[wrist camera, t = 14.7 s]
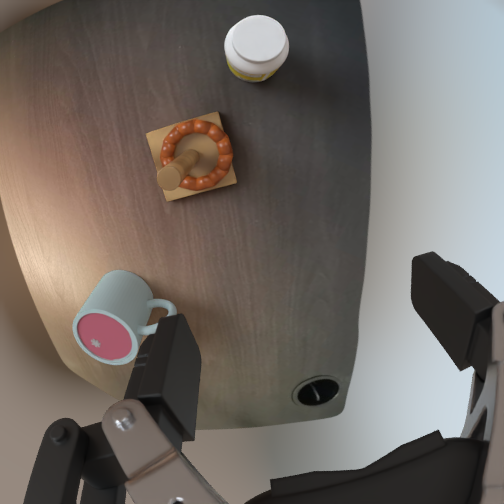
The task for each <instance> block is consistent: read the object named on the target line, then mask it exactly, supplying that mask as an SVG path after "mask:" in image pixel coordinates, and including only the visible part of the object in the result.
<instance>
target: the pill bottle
mask: <svg viewBox="0 0 504 504" xmlns="http://www.w3.org/2000/svg"><path fill="white" fill-rule="evenodd" d="M288 52H289V42H288V38H287V35H286V34H285V31H284V29H283V27H282V26H281V25H280V24H279V23H278V22H277V21H276V20H274V19H272V18H270V17H267V16H262V15H255V16H250V17H247V18H245V19H243V20H241V21H240V22H238V23H237V24H236V25H234V26H233V27H232V28H231V29H230V31H229V32H228V34H227V36H226V39H225V53H226V59H227V63H228V67H229V68H230V70H231V72H232V73H233V74H234V75H235V76H236V77H238V78H239V79H241V80H244V81H247V82H260V81H263V80H266V79H268V78H269V77H271V76H272V75H273V74H274V73H275V72H276V71H277V70H278V68H279V67H280V66H281V65H282V64H283V63H284V61H285V60H286V58H287V55H288Z"/></svg>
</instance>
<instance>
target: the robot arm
mask: <svg viewBox="0 0 504 504" xmlns="http://www.w3.org/2000/svg"><path fill="white" fill-rule="evenodd" d="M411 300H412V304H413V307H414V309H415V310H416V312H417V313H418V314H419V316H420V317H421V318H422V319H423V321H424V322H425V324H426V325H427V326H428V328H429V329H430V330H431V331H432V333H433V334H434V336H435V337H436V338H437V340H438V341H439V342H440V344H441V345H442V346H443V348H444V349H445V350H446V352H447V353H448V355H449V356H450V357H451V359H452V360H453V362H454V363H455V365H456V366H457V367H458V369H459V370H460V371H462V370H464V369H466V368H468V367H470V366H472V367H473V368H474V369H475V371H474V373H473V377H472V384H471V392H470V399H469V406H468V411H467V416H466V421H465V425H464V428H463V431H462V433H461V436H460V437H459V438H457V437H456V438H455V437H454V438H445V439H443V437H442V436H441V433H440V432H439V430H437V431H434V432H432V433H430V434H428V435H425V436H423V437H420V438H418V439H416V440H413V441H411V442H408V443H406V444H403V445H401V446H400V447H398V448H396V449H395V450H393V451H392V452H390V453H388V454H387V455H385V456H384V457H382V458H380V459H379V460H377V461H375V462H374V463H372V464H370V465H368V466H367V467H365V468H362V469H357V470H343V471H313V472H309V473H304V474H299V475H294V476H289V477H283V478H277V479H270V483H271V490H268V491H266V492H263V493H261V494H259V495H257V496H255V497H254V498H252V499H250V500H249V501H247V502H246V503H245V504H504V302H499V301H498V300H497V299H496V298H495V297H494V296H493V295H492V294H491V293H490V292H489V291H488V290H487V289H485V288H484V287H483V286H482V285H481V284H480V283H479V282H476V280H475V279H474V278H473V277H472V276H469V274H468V273H467V272H466V271H465V270H464V269H463V268H461V267H460V266H458V265H456V264H454V263H451V262H449V261H444V260H443V259H442V258H441V257H440V256H439V255H437V254H436V253H435V252H429V253H425V254H422V255H418V256H415V257H414V258H413V260H412V278H411ZM137 357H138V358H136V361H135V364H134V366H135V367H134V368H133V371H132V374H131V377H130V380H129V383H128V386H127V390H126V393H125V396H124V399H123V400H121V401H118V402H117V403H115V404H113V405H112V406H111V407H110V408H109V409H108V410H107V411H106V412H105V414H104V416H103V419H102V422H99V423H95V424H92V425H89V426H85V427H82V428H81V427H80V426H79V425H78V424H77V423H76V422H75V421H74V420H73V419H70V418H62V419H59V420H57V421H55V422H54V423H52V424H51V425H50V426H49V427H48V429H47V430H46V432H45V434H44V437H43V440H42V443H41V446H40V449H39V452H38V455H37V458H36V461H35V464H34V467H33V471H32V474H31V477H30V481H29V484H28V488H27V491H26V495H25V499H24V503H23V504H76V500H77V494H78V489H79V484H80V479H81V478H82V479H83V480H84V485H83V490H82V496H81V501H80V504H125V498H126V489H127V491H128V493H129V495H130V496H131V498H132V500H133V502H134V503H135V504H228V502H227V501H225V500H224V499H223V498H222V497H221V496H220V495H219V494H218V493H217V492H216V491H215V489H214V488H213V487H212V486H211V485H210V484H209V483H208V482H207V481H206V480H205V478H204V477H203V476H202V475H201V474H200V473H199V472H198V471H197V469H196V468H195V467H194V466H193V465H192V464H191V462H190V461H189V460H188V459H187V458H186V456H185V455H184V454H183V453H182V452H181V449H182V442H184V441H194V440H195V428H196V416H197V404H198V393H199V383H200V373H201V355H200V351H199V348H198V345H197V343H196V341H195V339H194V336H193V334H192V332H191V330H190V328H189V325H188V323H187V321H186V319H185V317H184V315H183V314H176V315H171V316H166V317H161V318H160V319H159V322H158V325H157V328H156V332H155V333H154V334H149V336H148V337H147V338H146V339H145V341H144V342H143V343H142V344H141V346H140V349H139V352H138V355H137Z"/></svg>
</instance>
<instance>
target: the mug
mask: <svg viewBox="0 0 504 504" xmlns="http://www.w3.org/2000/svg"><path fill="white" fill-rule="evenodd" d="M154 307H163V308H166V309H167V310H168V311H169V312H168V315H167V316H171V315H176V314H177V310H176V307H175V305H174V304H173V303H172V302H170V301H168V300H165V299H153V294H152V292H151V290H150V288H149V286H148V285H147V284H146V282H145V281H144V280H143V279H142V278H140V277H139V276H137V275H136V274H134V273H132V272H129V271H125V270H114V271H111V272H108V273H107V274H105V275H104V276H103V277H102V278H101V280H100V281H99V283H98V284H97V286H96V287H95V288H94V290H93V291H92V293H91V294H90V296H89V297H88V299H87V300H86V302H85V303H84V305H83V306H82V308H81V309H80V311H79V312H78V314H77V316H76V317H75V319H74V321H73V333H74V336H75V339H76V341H77V342H78V344H79V345H80V347H81V348H82V349H83V350H84V351H85V352H86V353H87V354H88V355H90V356H91V357H93V358H94V359H96V360H98V361H100V362H103V363H106V364H111V365H122V364H126V363H128V362H130V361H131V360H133V359H134V357H135V356H136V354H137V351H138V348H139V345H140V342H141V339H142V337H143V335H149V334H154V333H155V332H156V328H157V325H158V323H156V324H153V325H149V326H146V325H147V322H148V320H149V317H150V314H151V311H152V309H153V308H154Z"/></svg>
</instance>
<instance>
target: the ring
mask: <svg viewBox="0 0 504 504" xmlns="http://www.w3.org/2000/svg"><path fill="white" fill-rule="evenodd" d="M193 133H199V134H204V135H207V136H208V137H210V138H211V139H212V140H213V141H214V142H215V143H216V146H217V149H218V152H219V157H218V161H217V165H216V167H215V168H214V169H213V170H212V171H211V172H210V173H209V174H207V175H204V176H201V177H198V178H196V177H192V176H186V177H185V179H184V180H183V181H182V183H181V184H180V185H179V186H178V187H180V188H183V189H188V190H193V191H201V190H204V189H207V188H211V187H214V186H216V185H217V184H218V183H219V182H220V181H221V180H222V179H223V178H224V177H225V176H226V175H227V174H228V172H229V170H230V166H231V162H232V158H233V150H232V147H231V143H230V140H229V137H228V135H227V134H226V133H225V132H224V131H223V130H221V129H220V128H219V127H218V126H217V125H216V124H215V123H213V122H209V121H204V120H199V119H192V120H189V121H186V122H183V123H180V124H177V125H176V126H175V127H174V128H173V129H172V130H171V131H170V132H169V133H168V135H167V136H166V137H165V138H164V139H163V143H162V148H161V153H160V161H161V164H162V167H165V166H166V165H167V164H169V163H170V162H171V161H173V160H174V157H173V156H174V151H175V147H176V144H177V143H178V142H179V141H180V140H181V139H182V138H183V137H184V136H186V135H189V134H193Z"/></svg>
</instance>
